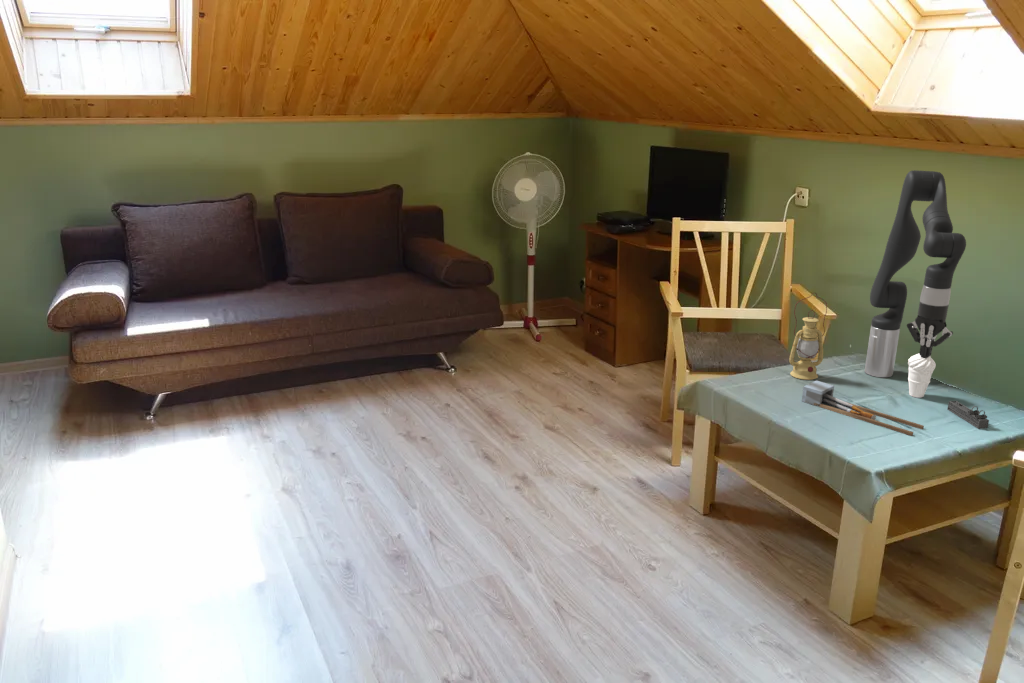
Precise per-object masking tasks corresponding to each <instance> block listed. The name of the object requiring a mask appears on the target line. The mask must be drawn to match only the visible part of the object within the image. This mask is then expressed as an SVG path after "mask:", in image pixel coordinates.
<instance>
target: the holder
mask: <svg viewBox="0 0 1024 683" xmlns="http://www.w3.org/2000/svg"><path fill="white" fill-rule="evenodd" d="M802 389H803V390H802V396H801V402H803V403H806V404H809V405H812V406H816V407H818V408H821V409H824V410H828V411H830V412H831V411H832V412H834V413H838V414H841V415H844V416H847V417H850V418H853V419H856V420H860V421H862V422H863V421H864V422H867V423H869V424H872V425H876V426H879V427H882V428H884V429H885V428H886V429H887V430H892V431H893V432H894V431H896V432H898V433H901V434H904V435H908V436H911V437H912V436H913V435H914V431H910V430H908V429H904V428H901V427H898V426H896V425H891V424H888V423H885V422H882V421H878V420H876V419H875V420H873V419H870V418H866V417H863V416H860V415H857V414H853V413H850V412H847V411H844V410H841V409H838V408H836V407H833V406H831V405H829V404H826V403H823V402H822V395H823V394H824V393H825V394H828V395H830V396H832V397H834V390H835V385H833V384H829V383H826V382H824V381H820V380H816V379H815V380H814V381H812V382H811V383H808V384H806V385H804V386H803V387H802ZM823 398H824V397H823ZM825 399H826V398H825ZM827 400H828V399H827ZM830 401H831V400H830ZM832 402H833V401H832ZM834 403H835V402H834ZM848 403H849V404H851V405H854V406H855V407H857V408H858V409H860V410H862V411H864V412H867V413H870V414H873V415H875V416H876V417H881V418H884V419H887V420H891V421H893V422H897V423H900V424H903V425H907V426H909V427H913V428H916V429H919V430H923V429H924V426H925V425H923V424H919V423H916V422H914V421H909V420H907V419H903V418H899V417H897V416H892V415H890V414H886V413H884V412H880V411H877V410H873V409H870V408H867V407H863V406H860V405H858V404H857V405H856V404H854V403H850V402H848Z"/></svg>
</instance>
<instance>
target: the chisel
mask: <svg viewBox="0 0 1024 683" xmlns="http://www.w3.org/2000/svg"><path fill="white" fill-rule="evenodd" d="M823 397H824V398H823ZM825 398H826V399H825ZM827 399H828V400H827ZM830 400H831V401H830ZM832 401H833V402H832ZM834 402H835V403H834ZM822 403H823V404H826V405H828V406H831V407H834V408H837V409H841V410H844V411H847V412H850V413H853V414H857V415H860V416H863V417H866V418H870V419H873V420H876V419H877V415H874V414H870V413H867V412H864V411H862V410H860V409H858V408H857V407H855V406H854V405H855V404H854V405H851V404H852V403H851V404H849V403H850V402H847V401H844V400H842V399H839V398H837V397H835V396H833V397H832V396H830V395H828V394H825V393H824V394H823V395H822Z"/></svg>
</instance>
